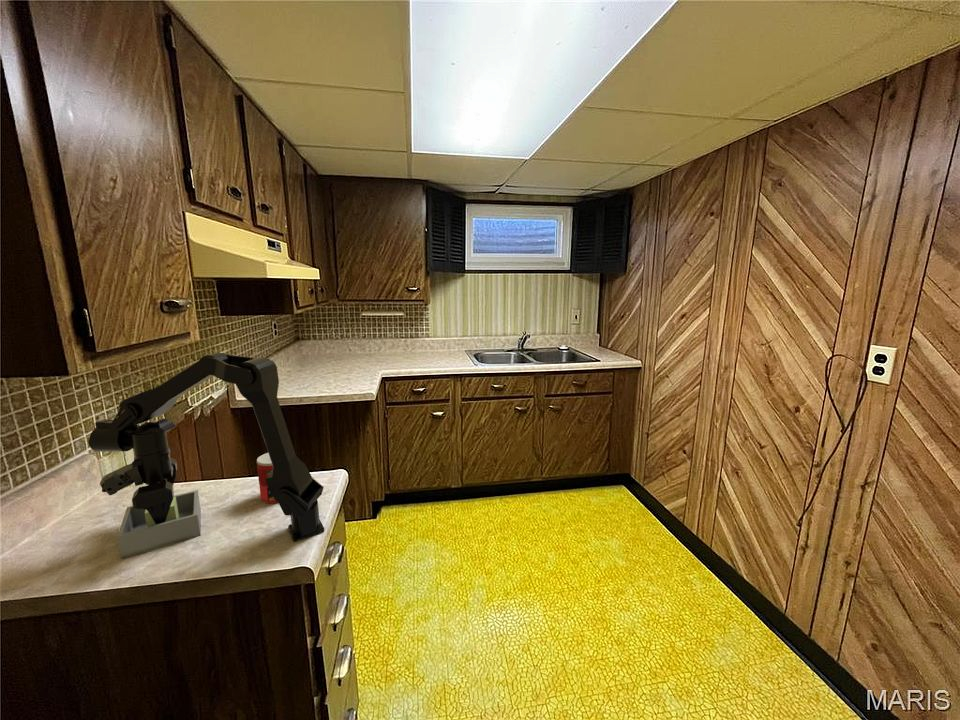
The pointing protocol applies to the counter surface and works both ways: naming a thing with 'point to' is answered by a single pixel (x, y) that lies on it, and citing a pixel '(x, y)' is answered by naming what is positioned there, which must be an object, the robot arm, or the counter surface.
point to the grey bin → (159, 527)
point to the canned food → (264, 477)
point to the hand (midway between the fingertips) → (162, 515)
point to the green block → (171, 515)
